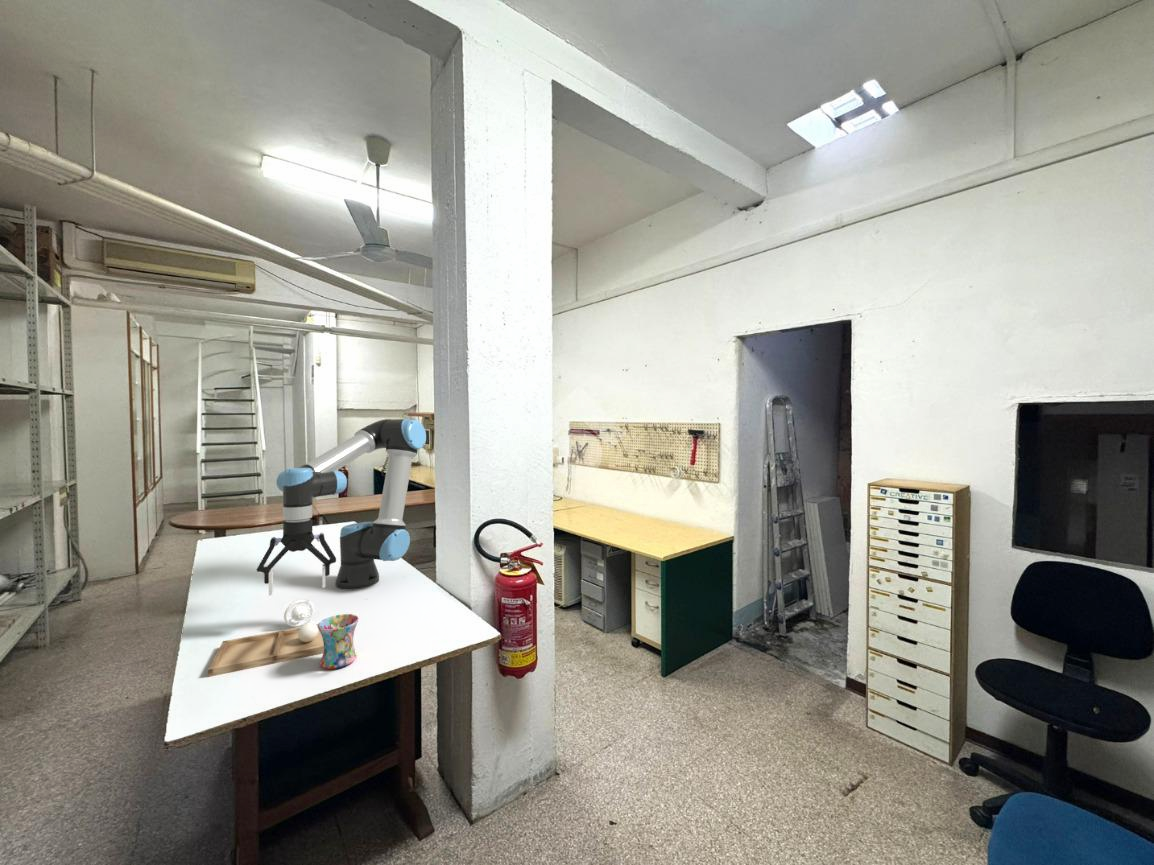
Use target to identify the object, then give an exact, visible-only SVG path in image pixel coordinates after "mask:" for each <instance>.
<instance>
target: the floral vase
mask: <svg viewBox="0 0 1154 865" xmlns="http://www.w3.org/2000/svg"><path fill="white" fill-rule="evenodd" d="M358 622H359V617H358V616H357V615H356V614H352V613H351V614H350V613H342V614H335V615H332V616H330V617H326V618H324V619H322V620H321V621H320V622H318V623H317V624H318V629H319V631H320V633H321V635H322V638H323V643H324V652H323V654H322V657H321V659H320V661H319V665H320V666H321V667H322V668H323V669H329V670H331V669H333V670H335V669H339V668H342V667H346V666H348V665H351V664H352V663H353V662H354V661H355V660H356V659H357V657H358V653H357V651H356V649H355V646H354V645H355V644H354V637H355V636H354V635H355V630H356V627H357V624H358Z"/></svg>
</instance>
